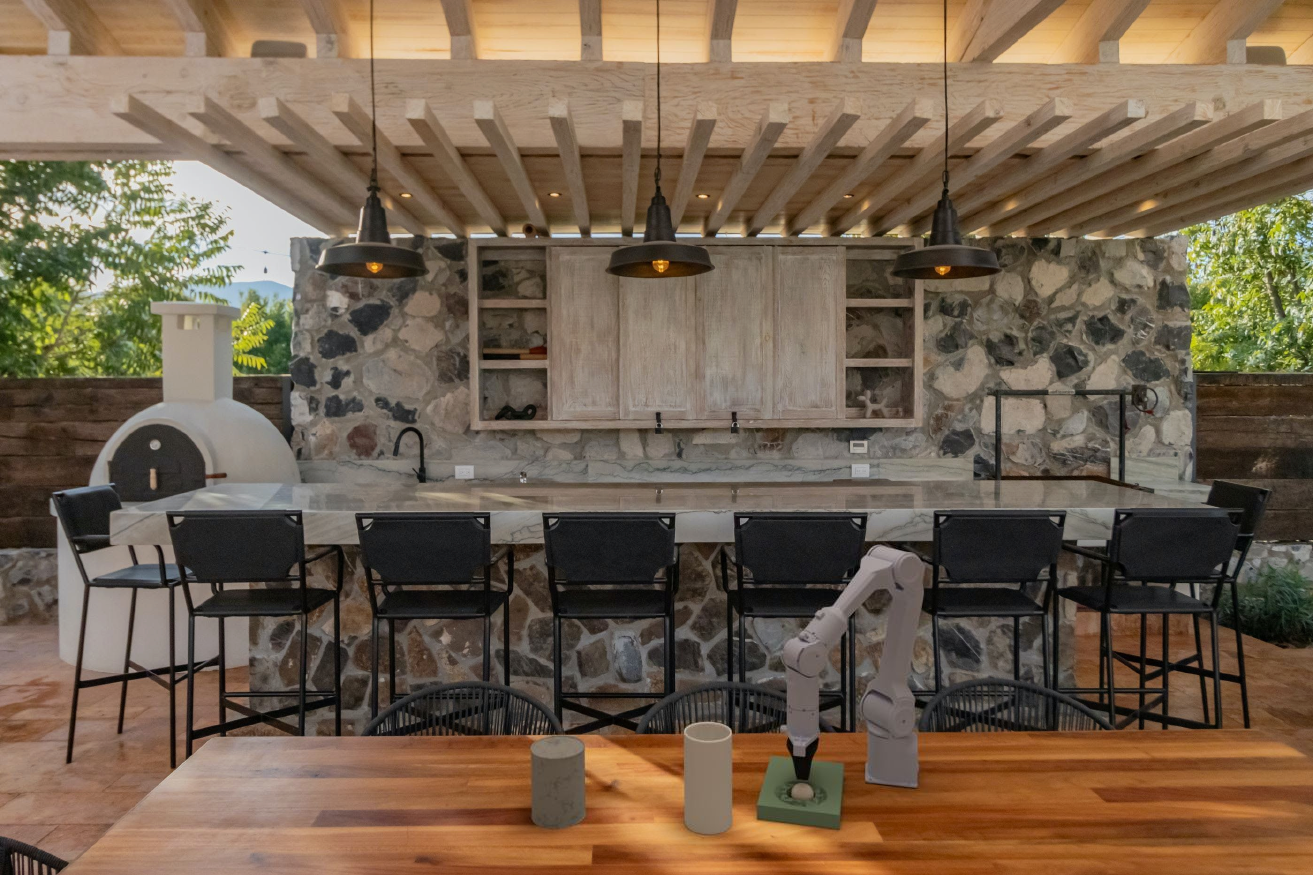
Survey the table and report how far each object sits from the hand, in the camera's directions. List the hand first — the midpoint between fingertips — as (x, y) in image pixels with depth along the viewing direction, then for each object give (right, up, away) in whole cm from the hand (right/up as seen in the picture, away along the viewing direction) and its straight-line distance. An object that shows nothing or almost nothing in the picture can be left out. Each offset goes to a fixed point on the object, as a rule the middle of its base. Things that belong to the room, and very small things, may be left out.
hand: (802, 778), depth 150 cm
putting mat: (0, -3, 0) cm, 3 cm away
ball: (-1, -2, -3) cm, 4 cm away
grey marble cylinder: (-44, -4, -6) cm, 45 cm away
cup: (-18, -4, -8) cm, 20 cm away
